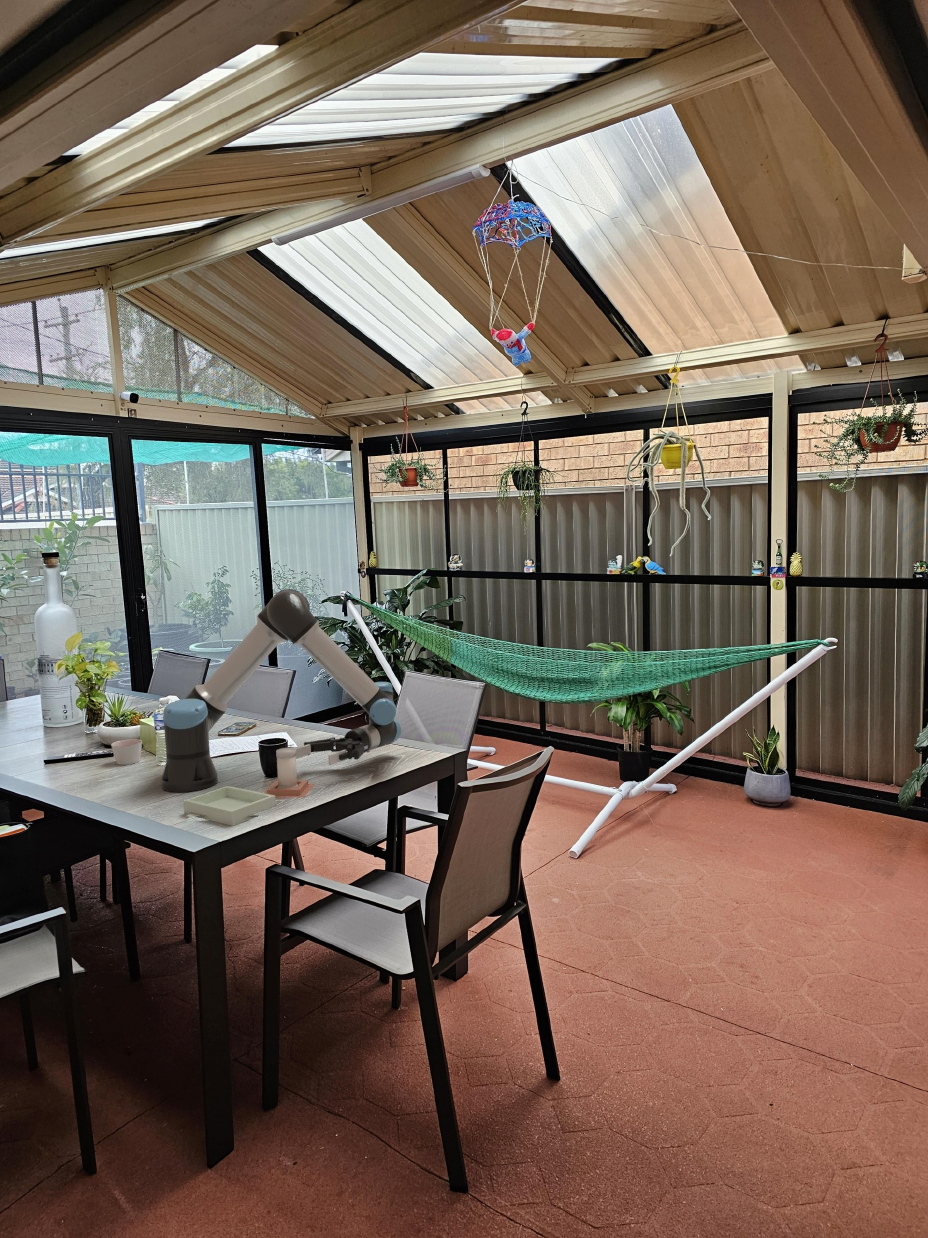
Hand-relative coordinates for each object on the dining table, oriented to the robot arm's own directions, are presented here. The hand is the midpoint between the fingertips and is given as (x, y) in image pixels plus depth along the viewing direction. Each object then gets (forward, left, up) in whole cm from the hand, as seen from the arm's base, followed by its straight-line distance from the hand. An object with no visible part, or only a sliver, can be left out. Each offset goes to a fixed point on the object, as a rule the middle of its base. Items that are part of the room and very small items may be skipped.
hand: (311, 757), depth 231 cm
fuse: (-5, -8, -7) cm, 11 cm away
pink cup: (-66, +27, -8) cm, 72 cm away
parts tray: (-16, -22, -8) cm, 28 cm away
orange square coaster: (-5, -8, -8) cm, 12 cm away
